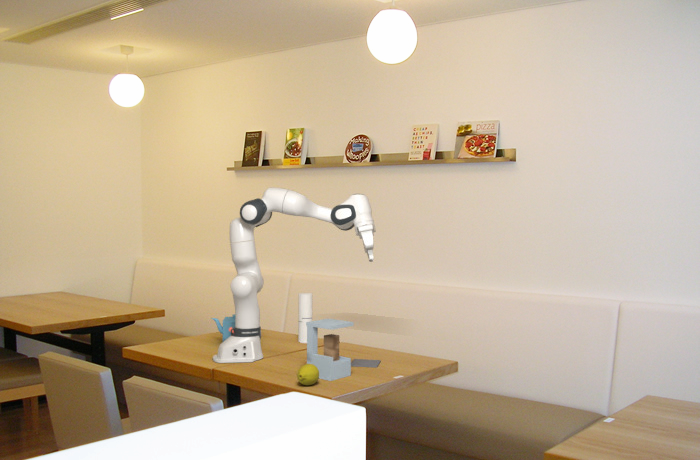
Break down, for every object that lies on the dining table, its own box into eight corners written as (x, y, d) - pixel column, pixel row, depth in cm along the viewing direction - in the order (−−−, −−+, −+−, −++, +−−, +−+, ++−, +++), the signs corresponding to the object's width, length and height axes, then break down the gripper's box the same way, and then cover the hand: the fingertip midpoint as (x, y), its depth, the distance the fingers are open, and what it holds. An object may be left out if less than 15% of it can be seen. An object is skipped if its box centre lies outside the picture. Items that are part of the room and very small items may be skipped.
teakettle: (237, 338, 332) (237, 311, 332) (262, 342, 320) (261, 314, 320) (208, 344, 317) (208, 315, 317) (233, 348, 305) (233, 318, 305)
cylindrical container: (310, 343, 319) (310, 294, 319) (296, 342, 321) (296, 294, 321) (313, 340, 326) (313, 293, 326) (300, 340, 328) (300, 292, 328)
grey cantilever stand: (328, 369, 262) (328, 318, 262) (353, 375, 253) (353, 322, 253) (306, 375, 252) (306, 322, 252) (331, 381, 243) (331, 325, 243)
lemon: (309, 380, 244) (309, 360, 244) (324, 384, 239) (324, 363, 239) (290, 386, 235) (290, 365, 235) (305, 390, 230) (305, 368, 230)
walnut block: (331, 358, 257) (331, 333, 256) (339, 359, 254) (339, 335, 254) (323, 360, 253) (323, 335, 253) (331, 361, 250) (331, 336, 250)
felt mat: (349, 366, 269) (349, 364, 269) (354, 360, 281) (354, 358, 281) (376, 367, 267) (376, 366, 267) (380, 361, 278) (380, 360, 278)
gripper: (358, 234, 284) (364, 264, 282) (358, 227, 264) (364, 259, 262) (371, 231, 285) (378, 261, 282) (372, 224, 264) (379, 256, 262)
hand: (371, 260), depth 272 cm, fingers open, 8 cm apart
